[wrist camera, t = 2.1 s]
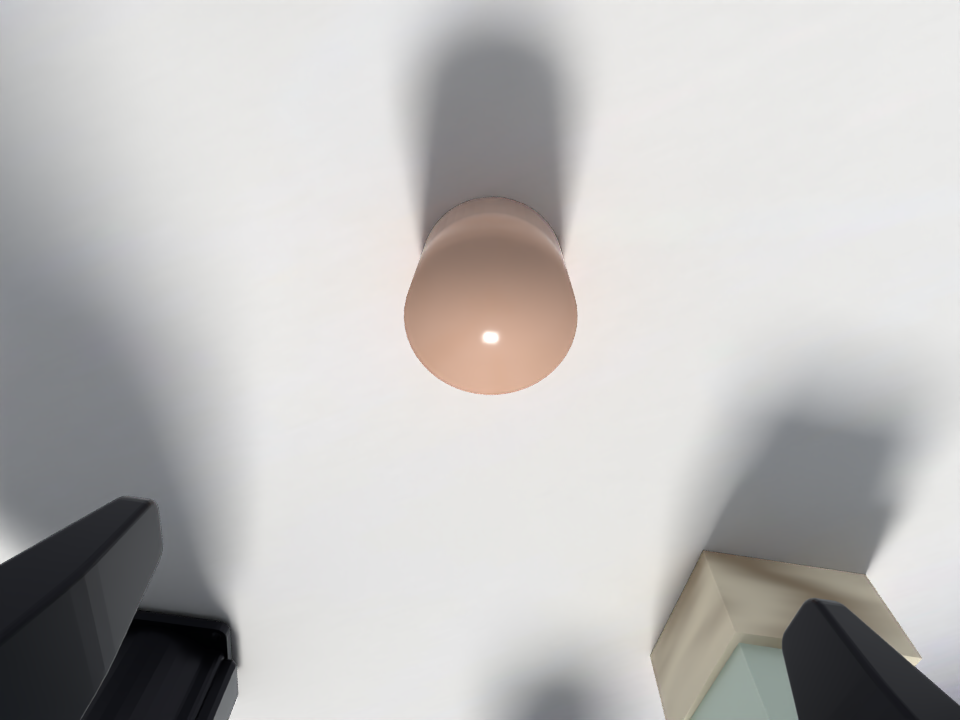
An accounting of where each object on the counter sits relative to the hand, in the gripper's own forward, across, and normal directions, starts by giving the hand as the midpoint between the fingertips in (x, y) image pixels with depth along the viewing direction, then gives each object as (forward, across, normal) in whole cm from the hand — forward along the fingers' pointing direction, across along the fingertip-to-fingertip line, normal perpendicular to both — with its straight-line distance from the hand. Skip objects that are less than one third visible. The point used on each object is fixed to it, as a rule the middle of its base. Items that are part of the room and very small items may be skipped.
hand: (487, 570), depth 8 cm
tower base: (+12, -14, +14) cm, 23 cm away
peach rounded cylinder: (+12, 0, 0) cm, 12 cm away
